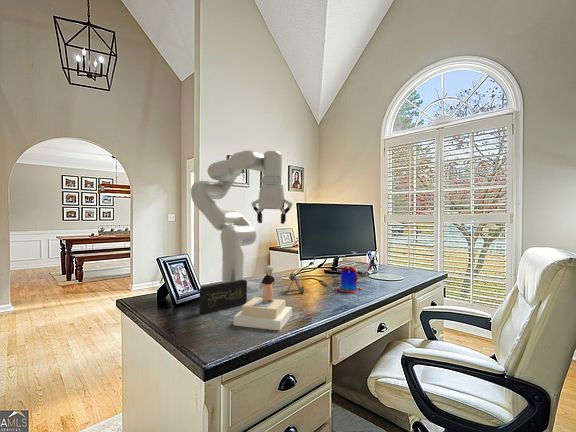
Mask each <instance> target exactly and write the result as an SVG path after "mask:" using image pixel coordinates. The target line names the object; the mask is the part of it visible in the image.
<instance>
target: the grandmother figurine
mask: <svg viewBox="0 0 576 432" xmlns="http://www.w3.org/2000/svg"><path fill="white" fill-rule="evenodd" d="M273 271H274V267H273V266H271V265H266V266H265V267H264V268H263V272H264V273H265V276H264V277H263V279H262V280H261V282H260V285H259V289H263V291H262V298H263V300H262V302H263V303H269V302H272V301H273V299H274V291H273V290H274V289H273V285H274V286H275V285H276V281H275V278H274V276H273Z"/></svg>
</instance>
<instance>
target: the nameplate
mask: <svg viewBox="0 0 576 432" xmlns="http://www.w3.org/2000/svg"><path fill="white" fill-rule="evenodd" d="M247 290H248V281H247V280H245V279H243V280H237V281H231V282H225V283H222V282H220V283H214V284H209V285H204V286H201V287H200V288H199V298H198V301H199V305H198V308H199V309H198V311H199V314H201V315H207V314H209V315H210V314H212V313H216V312H221V311H224V310H228V309H232V308H235V307H240V306H243V305H244V304H246V303H247V302H248V301H247V300H248V299H247V297H248V296H247V294H248V291H247Z"/></svg>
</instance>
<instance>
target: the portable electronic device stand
mask: <svg viewBox="0 0 576 432" xmlns="http://www.w3.org/2000/svg"><path fill="white" fill-rule="evenodd" d="M289 280H290V284H289V286H288V288H287V291H286V292H287V293H289V291H290V289H291V286H292V284H293V282H295V284H296V287H297V289H298V291H299V294H301V295H303V294H304V293H305V291H304V285H303V284H302V286H300V284H299V281H298V279H297V278H296V274H295V273H294V272H290V274H289Z"/></svg>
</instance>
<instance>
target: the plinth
mask: <svg viewBox="0 0 576 432" xmlns="http://www.w3.org/2000/svg"><path fill="white" fill-rule="evenodd" d="M262 300H263V297H257V296H254V297H253V298H251V299H250V300H248V301H247V302H246V304H244V305H241V310H240V311H239V312H237V313H236V314H235V315H234V316H233V326H237V327H244V328H246V327H247V328H254V329H255V328H256V329H263V330H269V331H270V330H271V331H272V330H273V331H281V330H282V329H283V327H284V326H285V325H286V324H287V322H288V321H289V320H290V318H291V317H292V315H293V314H292V313H293V307H291V306H286V299H277V298H273V301H272V302H269V303H263V302H262Z"/></svg>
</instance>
